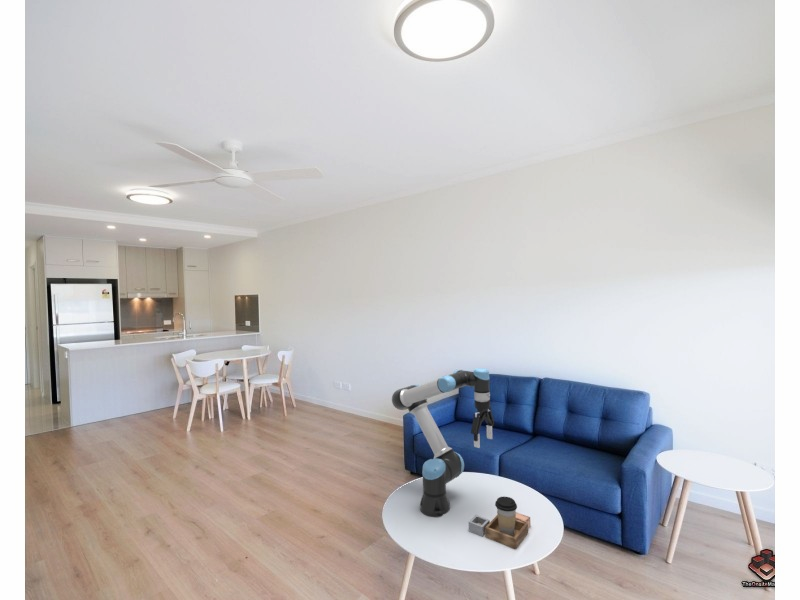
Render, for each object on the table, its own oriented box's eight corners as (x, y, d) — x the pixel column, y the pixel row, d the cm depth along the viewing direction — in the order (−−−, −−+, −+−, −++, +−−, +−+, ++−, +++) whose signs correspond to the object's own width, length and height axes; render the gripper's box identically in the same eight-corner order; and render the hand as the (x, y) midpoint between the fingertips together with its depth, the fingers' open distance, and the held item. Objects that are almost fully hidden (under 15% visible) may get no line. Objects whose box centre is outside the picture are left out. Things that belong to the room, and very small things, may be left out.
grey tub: (468, 532, 175) (468, 521, 175) (476, 525, 181) (475, 514, 181) (482, 538, 171) (482, 527, 171) (489, 530, 176) (489, 519, 176)
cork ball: (474, 530, 176) (474, 523, 176) (477, 527, 178) (477, 520, 178) (480, 532, 174) (480, 526, 174) (483, 529, 176) (483, 523, 176)
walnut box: (485, 538, 171) (485, 527, 171) (499, 523, 181) (498, 513, 181) (515, 551, 162) (515, 539, 162) (528, 534, 173) (527, 523, 173)
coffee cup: (518, 542, 166) (517, 507, 166) (496, 540, 168) (495, 505, 168) (516, 529, 175) (515, 496, 175) (495, 527, 177) (494, 494, 177)
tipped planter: (511, 527, 178) (511, 516, 178) (515, 522, 182) (515, 512, 182) (526, 533, 174) (526, 522, 174) (530, 527, 177) (530, 517, 177)
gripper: (477, 407, 179) (478, 452, 179) (500, 395, 198) (501, 436, 198) (462, 404, 183) (464, 449, 184) (486, 393, 203) (487, 433, 203)
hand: (483, 442), depth 191 cm, fingers open, 13 cm apart
